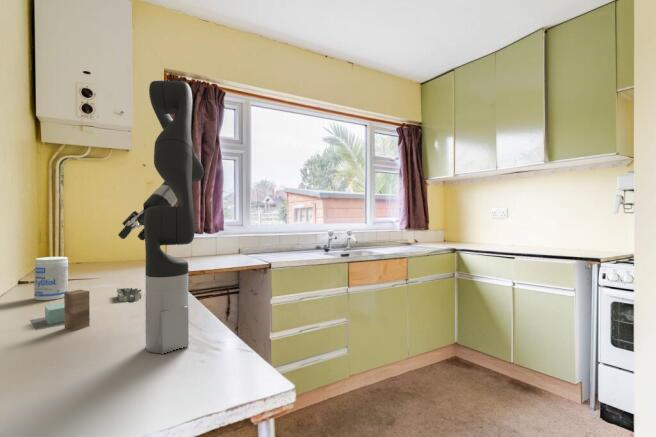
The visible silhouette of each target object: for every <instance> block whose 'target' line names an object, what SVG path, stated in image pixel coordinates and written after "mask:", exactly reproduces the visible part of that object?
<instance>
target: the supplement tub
mask: <svg viewBox="0 0 656 437" xmlns="http://www.w3.org/2000/svg"><path fill="white" fill-rule="evenodd" d="M33 280H34V282H33V283H34V284H33V286H34V287H33V288H34V289H33V290H34V292H33V296H34V299H35V300H36V301H53V300H59V299H64V293H65V292H69V288H68V287H69V286H68V285H69V257H67V256H45V257H37V258H35V261H34V279H33Z"/></svg>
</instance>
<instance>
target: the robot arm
mask: <svg viewBox="0 0 656 437" xmlns="http://www.w3.org/2000/svg"><path fill="white" fill-rule="evenodd" d="M148 94H149V95H148V96H149V100H150V104H151V107H152V110H153V111H154V114H155V116H156V118H157V120H158V122H159V124H160V125H161V126H160V127H161V128H162V129H163V130H162V131H161V132H160V133H159V134H158V136H157V137H156V139H155V141H154V148H153V149H154V150H153V165H154V168H155V170H156V172H157V173H158V175H159V176H160V178H161V179H162V180H163V182H162V184H161V185H159V187H158V188H156V189H155V190H154V191H153V192H152V194H151V195H150V196H149V197H148V198H147V199H146V200H145V201H144V202H143V204H142V207H143V209H142V210H141V211H140V212H138V211H136V210H134V211H132V212H131V213H130V215H128V217H126V219H125V220H123V222H122V223H121V224H122V225H123V226H124V227H123V228H122V229H121V231H120V232H118V237H119V238H120V239H122V240H125V239H126V238H127V237H128V236H129V234H131V232H132V231H133V230H134V229H136V228H137V229H138V228H140V227H142V226H143V228H142V229H141V231H140V232H139V233H138V234H137V238H138V239H139V240H141V241H144V242H145V244H144V245H145V246H144V249H145V351H147V352H149V353H155V354H156V353H157V354H161V355H164V353H165V354H168V353H171V352H174V351H173V350H175V351H177V350H176V349H178V350H180V349H179V348H182V347H185V348H187V347H186V346H188V345H189V340H190V339H189V331H190V330H189V328H190V327H189V319H190V318H189V316H190V315H189V263H188V261H187V260H185V259H183V258H180V257H176V256H172V255H171V254H168V253H167V252H165V251H164V250H162V248H161V246H180V245H181V246H183V245H189V244H191V243H192V242H193V241H194V238H195V233H196V232H195V230H196V225H195V224H196V221H195V219H196V218H195V210H194V200H193V197H194V196H193V183H198V182H200V181H201V180H203V177H204V174H205V172H204V171H205V170H204V169H205V168H204V166H203V164H202V162H201V161H200V158H199V157H198V156H197V154H196V152H195V148H194V143H193V140H192V115H193V93H192V88H191V86H190V85H189V84H188V83H187V82H186V81H182V80H152V81H151V82H150V84H149V87H148ZM171 115H174V118H172V116H171ZM177 202H178V205H179V206H178V205H177V206H175V205H176V203H177ZM188 347H189V346H188ZM182 349H183V348H182ZM170 351H171V352H170ZM167 352H168V353H167Z"/></svg>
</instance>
